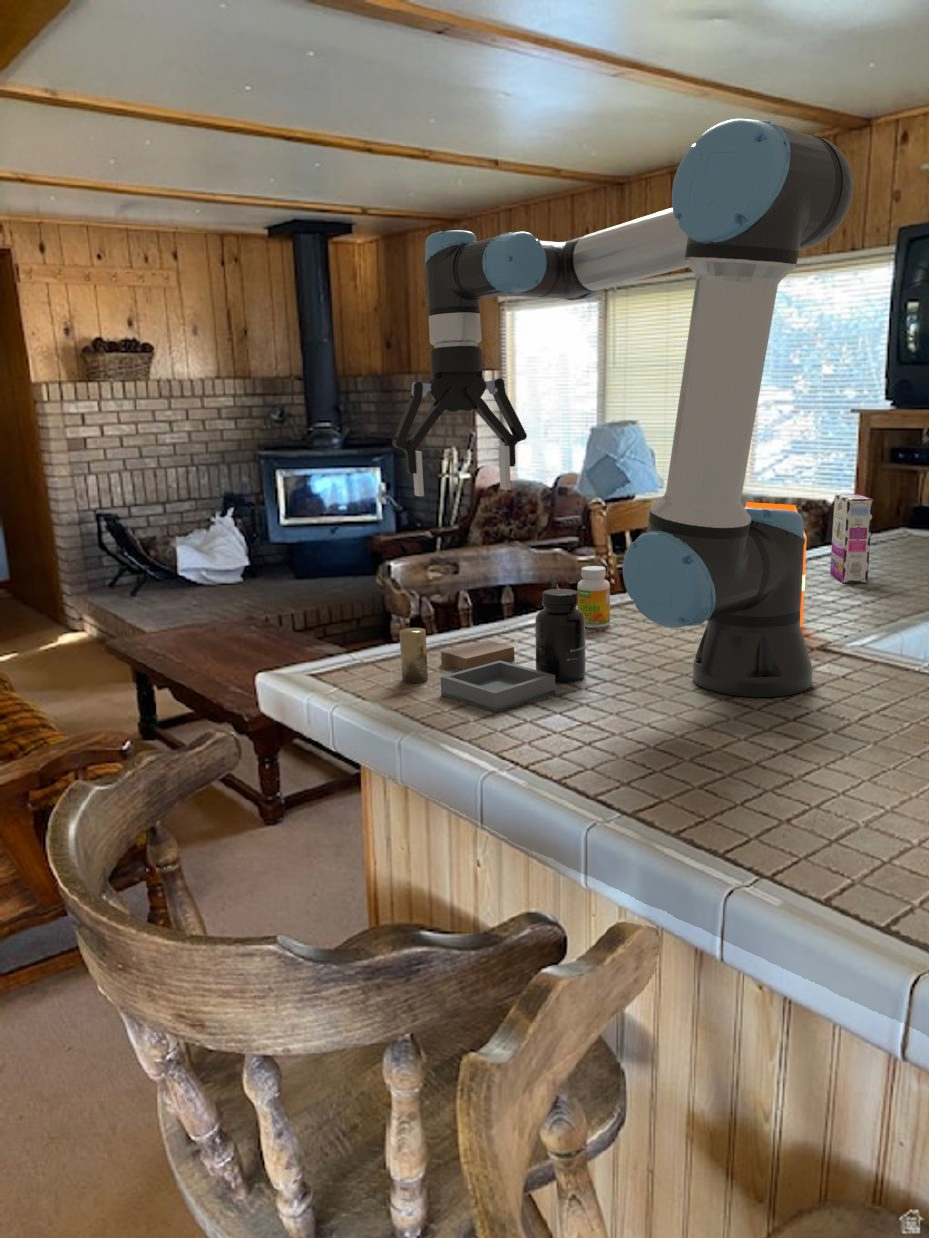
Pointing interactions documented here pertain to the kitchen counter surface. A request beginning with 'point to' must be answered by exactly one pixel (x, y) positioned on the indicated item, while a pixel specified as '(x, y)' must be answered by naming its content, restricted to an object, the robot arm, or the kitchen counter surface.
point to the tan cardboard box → (476, 655)
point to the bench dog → (413, 655)
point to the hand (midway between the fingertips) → (463, 492)
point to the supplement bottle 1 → (560, 636)
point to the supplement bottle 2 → (594, 597)
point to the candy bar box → (851, 538)
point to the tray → (497, 685)
